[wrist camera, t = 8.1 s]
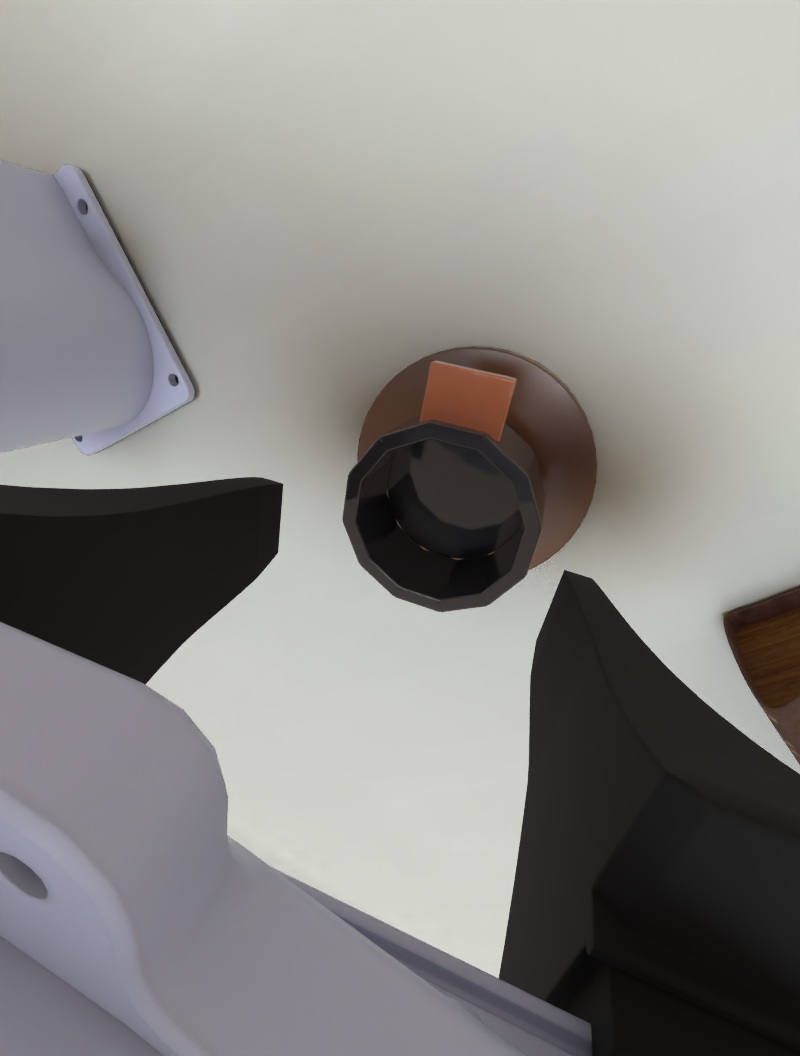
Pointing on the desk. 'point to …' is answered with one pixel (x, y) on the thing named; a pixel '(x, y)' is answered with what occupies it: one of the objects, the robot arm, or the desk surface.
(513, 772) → the desk surface
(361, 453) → the brown flat disc
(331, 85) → the desk surface
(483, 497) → the dark grey cup
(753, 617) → the book
